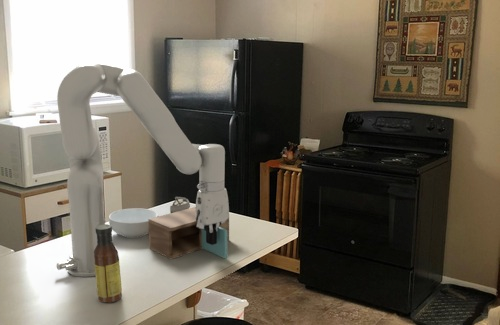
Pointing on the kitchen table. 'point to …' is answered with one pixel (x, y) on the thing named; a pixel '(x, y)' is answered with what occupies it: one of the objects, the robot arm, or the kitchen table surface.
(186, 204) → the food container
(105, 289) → the sauce bottle
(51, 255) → the kitchen table surface
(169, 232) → the cabinet
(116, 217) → the cereal bowl
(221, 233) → the door
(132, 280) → the kitchen table surface
